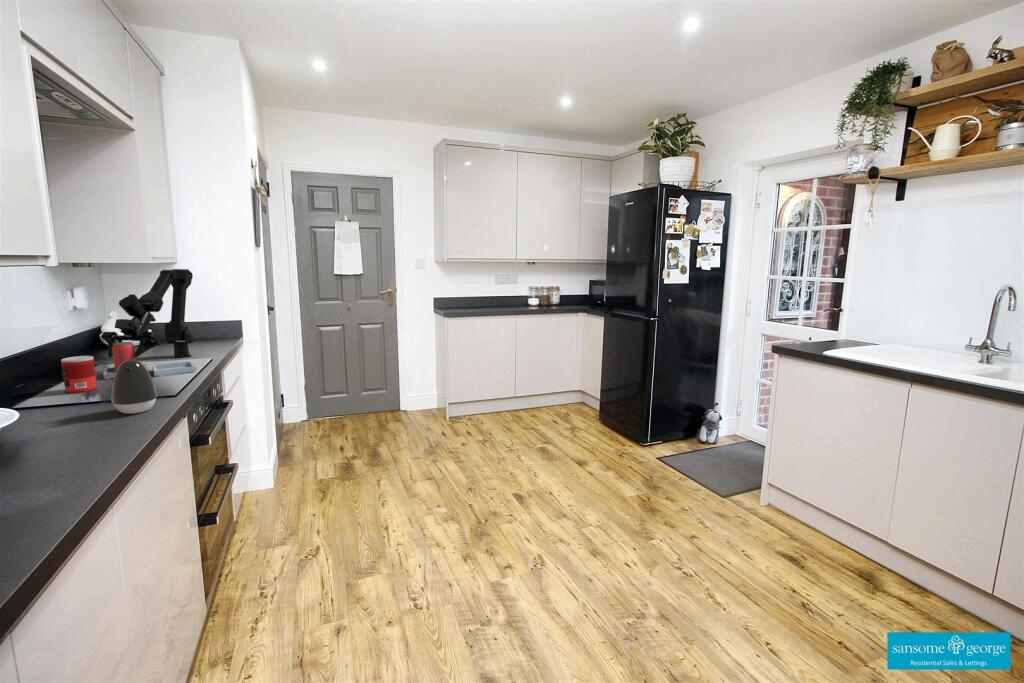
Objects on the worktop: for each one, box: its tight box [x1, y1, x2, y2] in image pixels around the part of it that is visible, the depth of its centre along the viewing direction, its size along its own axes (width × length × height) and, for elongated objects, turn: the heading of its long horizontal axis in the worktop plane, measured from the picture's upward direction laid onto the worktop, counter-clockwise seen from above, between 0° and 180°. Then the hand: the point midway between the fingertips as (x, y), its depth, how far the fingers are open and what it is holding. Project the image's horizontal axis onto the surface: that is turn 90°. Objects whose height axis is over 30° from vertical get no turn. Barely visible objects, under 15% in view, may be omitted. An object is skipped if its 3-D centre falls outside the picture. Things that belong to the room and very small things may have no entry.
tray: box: [151, 361, 198, 378], centre depth 185 cm, size 13×13×2 cm
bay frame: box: [102, 363, 150, 380], centre depth 180 cm, size 13×13×2 cm
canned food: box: [60, 355, 98, 394], centre depth 157 cm, size 8×8×11 cm
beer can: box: [112, 341, 137, 373], centre depth 179 cm, size 7×7×12 cm
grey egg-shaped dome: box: [111, 359, 158, 415], centre depth 136 cm, size 10×10×15 cm
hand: (122, 356), depth 178 cm, fingers open, 9 cm apart
